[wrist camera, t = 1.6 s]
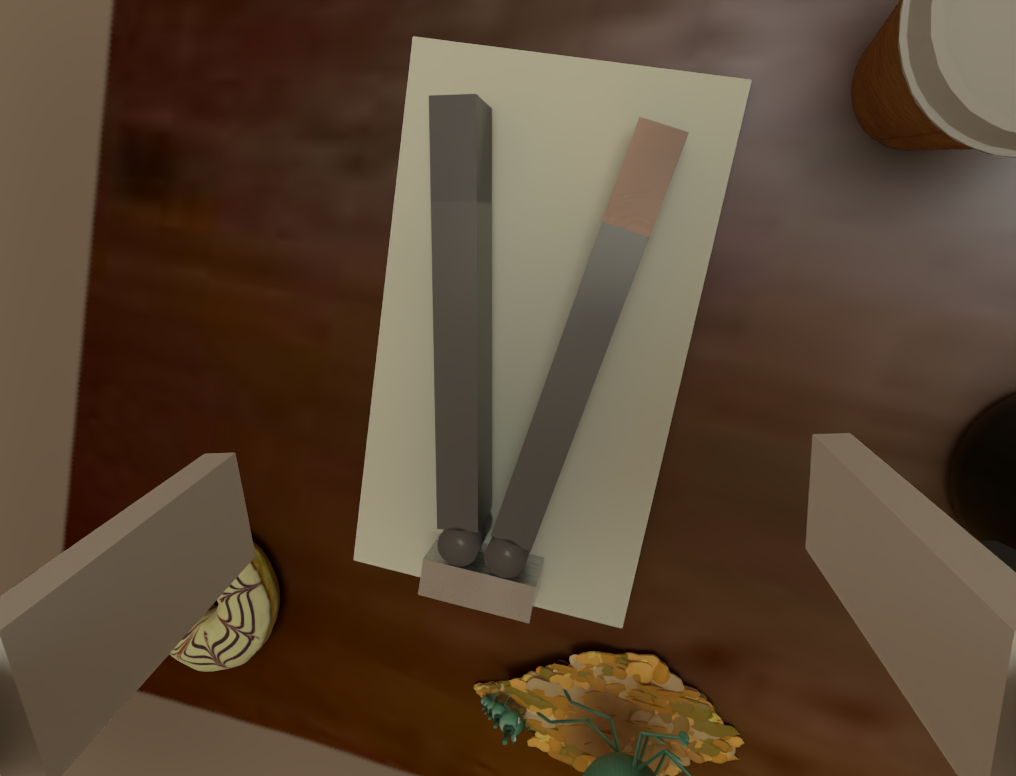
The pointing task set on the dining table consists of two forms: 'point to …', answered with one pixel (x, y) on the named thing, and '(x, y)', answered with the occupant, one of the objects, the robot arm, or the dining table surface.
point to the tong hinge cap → (481, 585)
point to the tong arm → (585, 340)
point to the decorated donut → (234, 620)
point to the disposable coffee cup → (941, 77)
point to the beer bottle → (988, 476)
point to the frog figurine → (611, 716)
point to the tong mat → (548, 304)
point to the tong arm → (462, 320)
